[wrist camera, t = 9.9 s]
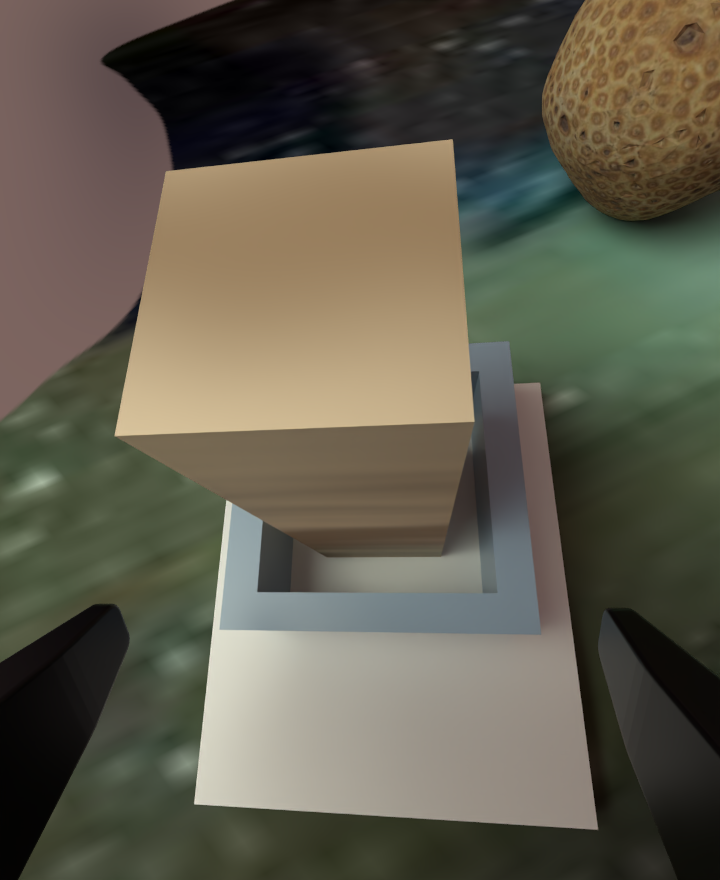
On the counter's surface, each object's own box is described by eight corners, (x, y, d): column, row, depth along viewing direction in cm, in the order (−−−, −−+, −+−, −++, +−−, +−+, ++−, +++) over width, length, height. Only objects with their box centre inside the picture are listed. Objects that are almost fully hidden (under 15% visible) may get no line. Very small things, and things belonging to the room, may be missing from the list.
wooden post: (440, 556, 17) (475, 421, 5) (327, 557, 17) (115, 435, 5) (435, 447, 18) (452, 139, 6) (330, 450, 18) (165, 171, 7)
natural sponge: (485, 163, 24) (524, -130, 14) (655, 99, 24) (804, -235, 14) (575, 305, 20) (700, 46, 11) (772, 232, 20) (1065, -90, 11)
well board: (587, 816, 14) (652, 897, 10) (207, 792, 16) (130, 856, 12) (534, 394, 19) (564, 332, 15) (245, 406, 21) (200, 354, 17)
